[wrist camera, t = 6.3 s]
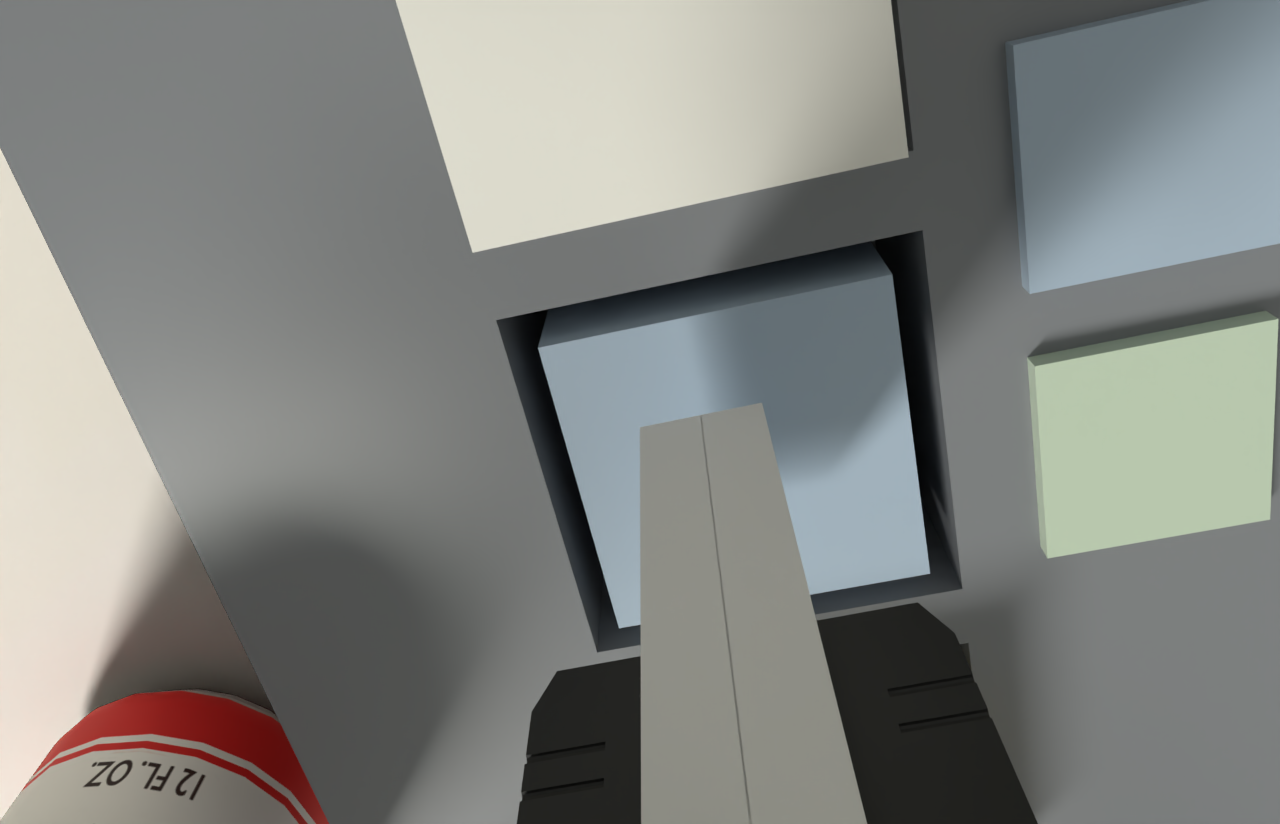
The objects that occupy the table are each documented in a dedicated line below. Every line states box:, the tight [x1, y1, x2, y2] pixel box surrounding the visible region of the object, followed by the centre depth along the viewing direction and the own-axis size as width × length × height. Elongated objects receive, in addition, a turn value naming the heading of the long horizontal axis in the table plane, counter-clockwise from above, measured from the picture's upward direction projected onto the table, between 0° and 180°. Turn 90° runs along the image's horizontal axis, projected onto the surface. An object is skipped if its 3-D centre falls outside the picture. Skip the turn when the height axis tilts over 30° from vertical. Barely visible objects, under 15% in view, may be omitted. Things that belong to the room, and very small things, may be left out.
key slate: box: [538, 241, 930, 628], centre depth 15 cm, size 5×5×2 cm
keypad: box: [0, 0, 1280, 824], centre depth 15 cm, size 16×26×5 cm, turn 13°
